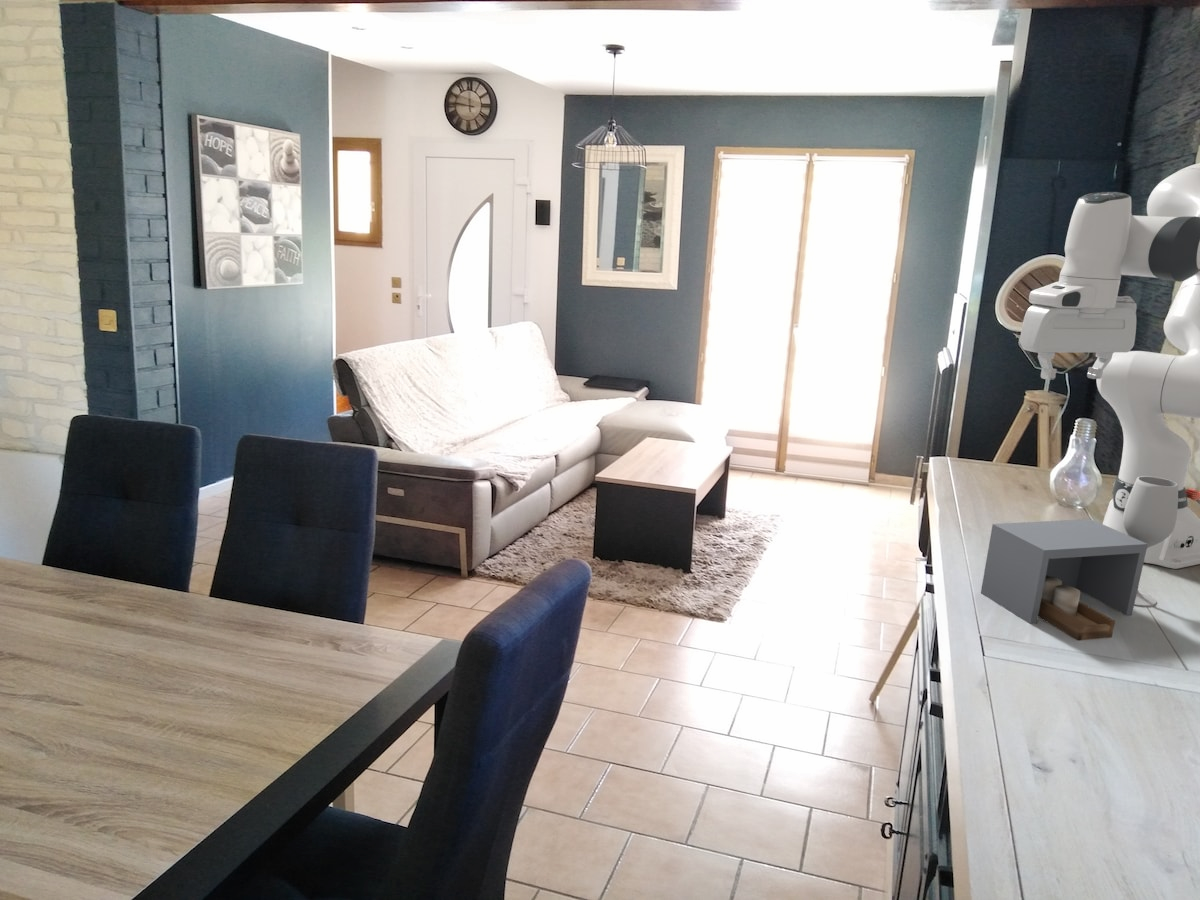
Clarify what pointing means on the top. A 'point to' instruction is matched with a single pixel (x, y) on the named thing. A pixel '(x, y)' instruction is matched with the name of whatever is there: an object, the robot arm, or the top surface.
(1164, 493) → the wineglass
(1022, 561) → the grey cover
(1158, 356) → the robot arm
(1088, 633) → the tray
